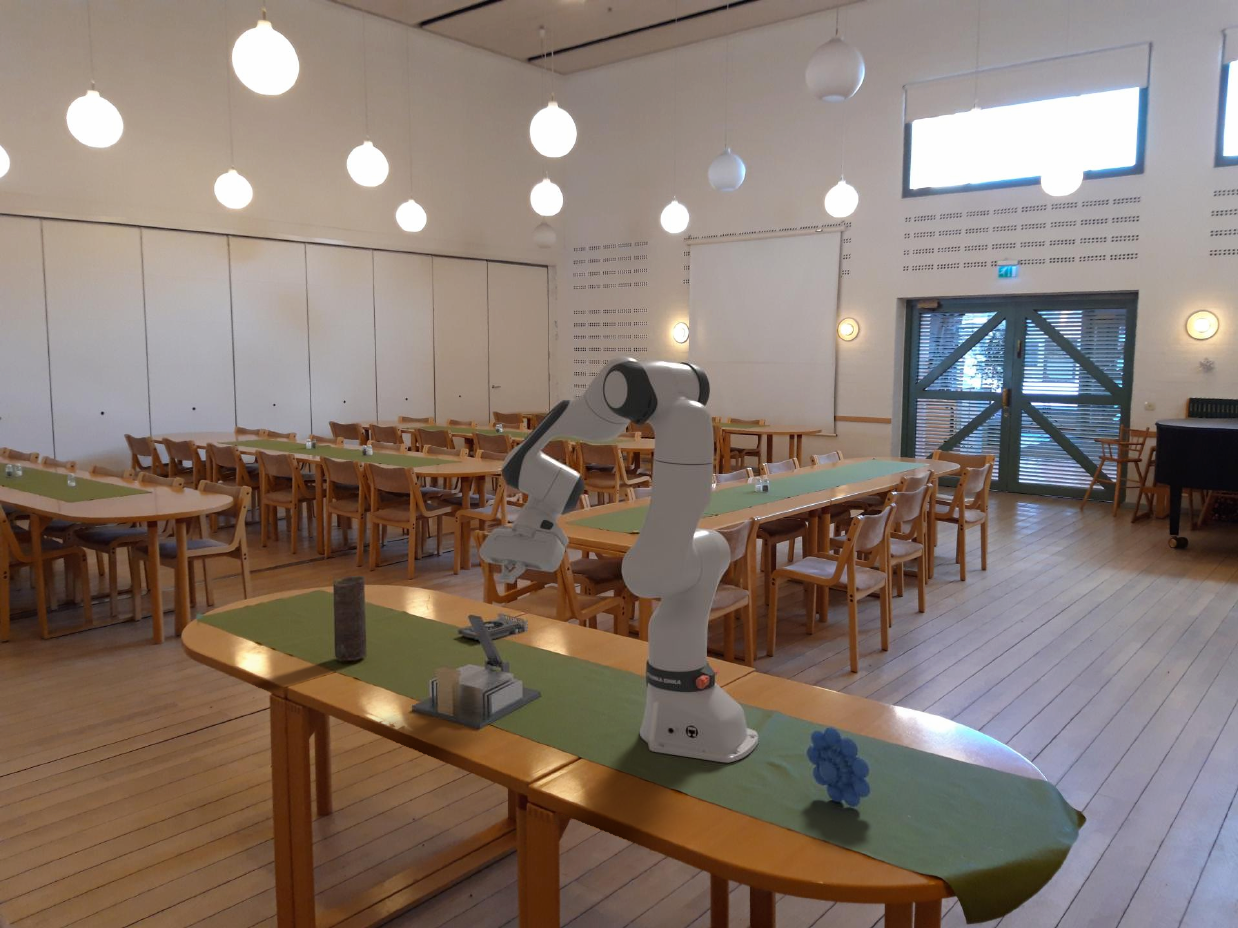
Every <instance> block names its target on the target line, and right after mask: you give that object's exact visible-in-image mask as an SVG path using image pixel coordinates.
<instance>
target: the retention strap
mask: <svg viewBox="0 0 1238 928" xmlns="http://www.w3.org/2000/svg"><path fill="white" fill-rule="evenodd" d="M467 616H468V617H467V618H468V621H469V623H470V624H471V625H470V626H472V627H473V629H474V631H475V633H476V635H477V637H478V639H477V640H478V642H479V643H480V645H481V648H482V650H483V652H484V654H485V655H486V658H487V660H489V664H490V665H491V666H493V667H494V668H495V667H496V668H500V669H501V664H503V663H505V662H504V661H503V660H502V657H501V655H500V654H499V653H500V652H499V651H498V649H497V647H496V645H495V643H494V641H493V639H491V636H490V634H489V632H488V630H487V628H486V626H485V624H484V622H485V621H484V619H483V618H482V616H480V615H474V614H469V615H467Z"/></svg>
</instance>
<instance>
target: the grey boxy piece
mask: <svg viewBox="0 0 1238 928" xmlns="http://www.w3.org/2000/svg"><path fill="white" fill-rule="evenodd" d="M434 675H435V676H436V677H435V678H433V679H430V680H429V683H428V685H429V687H428V688H429V697H428V698H425V699H424V700H421V701H420V702H418V703H414V704H413V705H411V711H413V712H416V713H419V714H420V713H421V714H424V715H427V716H430V717H431V716H432V717H434V718H439V719H442V720H445V721H450V722H454V723H457V724H461V725H464V726H468V727H472V728H475V729H479V730H480V729H482V728H484V727H486V726H488V725H490V724H492V723H494V722H496V721H497V720H499V719H501V718H503V717H504V716H506V714H507V715H509V714H511V713H512V712H513V711H516V710H517V709H519V708H522V707H523V706H525V705H527V704H529V703H530V702H532V701H534V700H536V699H538V698H539V697H541V696H542V691H540V690H537V689H532V688H528V687H523V680H520V679H518V678H514V677H515V676H514V673H511V672H510V662H509V661H506V662H504V663H503V664H501V668H500V670H497V669H494V666H491V665H490V664H489V660H488V659H486V660H485V661H484V666H479V665H474V664H470V663H469V664H466V665H464V666H460V667H457V668H455V669H454V668H450V667H445V666H440V667H438V668H436V669H434Z"/></svg>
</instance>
